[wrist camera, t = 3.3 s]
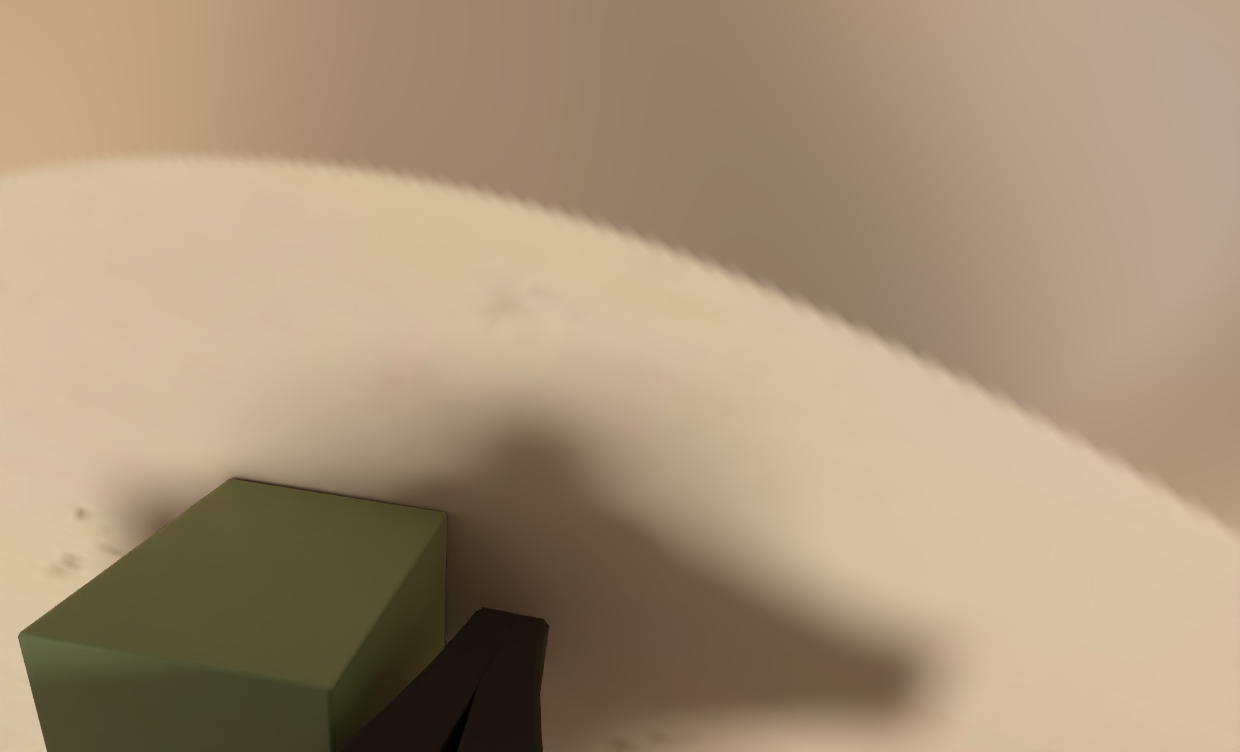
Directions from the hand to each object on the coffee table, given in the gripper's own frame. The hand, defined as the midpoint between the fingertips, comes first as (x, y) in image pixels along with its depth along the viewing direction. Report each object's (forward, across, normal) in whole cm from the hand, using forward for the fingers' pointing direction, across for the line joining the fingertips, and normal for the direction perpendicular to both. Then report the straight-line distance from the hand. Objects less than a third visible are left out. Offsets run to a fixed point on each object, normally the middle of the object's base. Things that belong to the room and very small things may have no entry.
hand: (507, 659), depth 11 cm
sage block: (+1, +3, 0) cm, 4 cm away
